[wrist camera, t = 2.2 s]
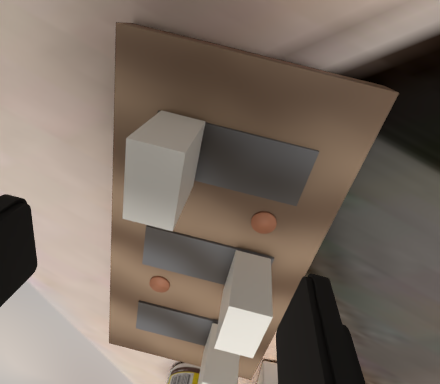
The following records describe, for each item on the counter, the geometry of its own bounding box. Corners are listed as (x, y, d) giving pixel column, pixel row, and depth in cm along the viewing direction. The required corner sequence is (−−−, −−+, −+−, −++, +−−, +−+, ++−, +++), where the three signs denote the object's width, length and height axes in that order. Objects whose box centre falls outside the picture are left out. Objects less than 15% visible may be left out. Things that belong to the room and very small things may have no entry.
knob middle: (236, 250, 19) (228, 306, 15) (270, 258, 19) (272, 317, 15) (223, 289, 21) (214, 348, 17) (254, 298, 21) (252, 358, 17)
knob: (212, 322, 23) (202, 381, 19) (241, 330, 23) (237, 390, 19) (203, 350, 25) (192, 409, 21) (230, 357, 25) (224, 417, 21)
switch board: (132, 23, 16) (114, 22, 14) (384, 85, 15) (400, 93, 14) (118, 324, 29) (107, 345, 27) (251, 359, 29) (250, 382, 27)
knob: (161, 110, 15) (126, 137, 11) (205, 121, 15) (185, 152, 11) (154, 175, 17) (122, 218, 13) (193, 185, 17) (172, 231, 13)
